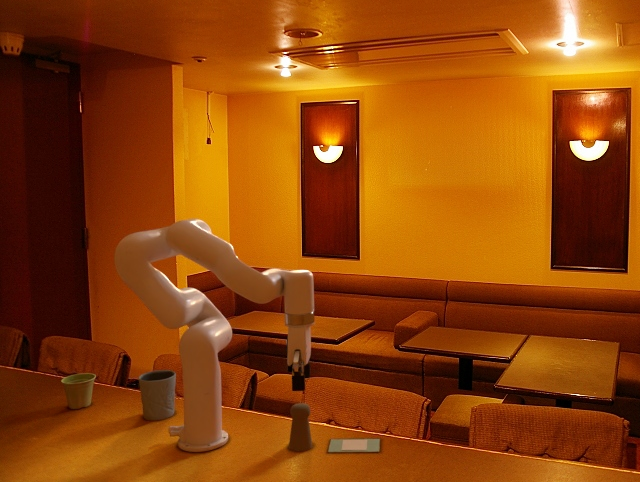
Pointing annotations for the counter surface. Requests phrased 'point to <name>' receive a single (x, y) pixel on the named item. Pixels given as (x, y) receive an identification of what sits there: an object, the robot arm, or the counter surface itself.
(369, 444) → the placemat
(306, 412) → the brown tall tapered piece
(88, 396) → the plant pot
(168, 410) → the grey cup
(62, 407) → the counter surface
